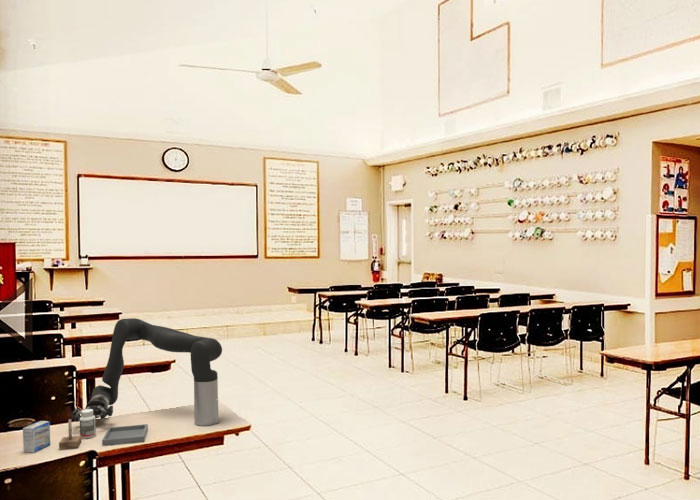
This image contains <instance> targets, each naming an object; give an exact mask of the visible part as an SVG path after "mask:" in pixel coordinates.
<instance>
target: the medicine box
mask: <svg viewBox="0 0 700 500" xmlns="http://www.w3.org/2000/svg"><path fill="white" fill-rule="evenodd" d="M22 445H23V448H22V449H23V453H30V452H33V454H35V453H37V452H39V451H41V450H43V449H44V448H47V447H49V446H50V445H51V422H50V421H48V420H39V421H36V422H34V423H32V424H30V425H27V426H25V427H23V428H22Z"/></svg>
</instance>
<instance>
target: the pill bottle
mask: <svg viewBox="0 0 700 500" xmlns="http://www.w3.org/2000/svg"><path fill="white" fill-rule="evenodd" d="M81 415H82V417H81V418H80V420H79V436H81V440H82V439H83V440H84V439H91V438H94V437H95V436H96V435H97V434H96V433H97V431H96V428H97V427H96V425H97V424H96V418H95V416H94V415H93V409H86V410H83V411H81V414H80V416H81Z"/></svg>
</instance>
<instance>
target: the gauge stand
mask: <svg viewBox="0 0 700 500" xmlns="http://www.w3.org/2000/svg"><path fill="white" fill-rule="evenodd" d="M72 420H73V419H72V418H69V419H68V422H67V423H68V424H67V425H68V426H67V427H68V436H63V437H62V438H61V439H60V441H58V451H62V450H63V451H64V450H75V449H78V448H79V447H80V445H81V444H82V438H81V436H80V435H73V432H72V431H73V429H72V428H73V426H72V424H73V423H72Z"/></svg>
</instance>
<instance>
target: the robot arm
mask: <svg viewBox="0 0 700 500" xmlns="http://www.w3.org/2000/svg"><path fill="white" fill-rule="evenodd" d="M111 339H112V340H111V344H110V350H109V355H108V359H107V363H106V366H105V368H104V373H103V375H102V378H101V380H102V382H103V383H105V385H108V386H105V385H97V386H95V387H94V388H93V390H92V392H91V399H90V400H89V401H88V403H87V404H86V405H85V408H83V409H81V410H80V408H75V409H74V410H73V411H72V412H71V419H72V420H74V421H75V422H76V423H79V422H80V418H81V417H82V415H81V411H83V410H86V409H93V415H94V416H95V419H99V418H100V420H101V421H102V420H104V419H105V418H107V416H108V417H112V416H113V413H114V405H115V403H116V402H117V400H118V398H119V384H120V379H121V376H122V374H123V371H124V367H125V362H124V361H125V360H124V356H123V348H124V346H125V343H126V342H127V341H132V340H141V341H146V342H149V343H151V344H152V346H154V347H155V348H157V349H159V350H162V351H165V352H171V353H189V354H190V367H191V373H192V376H193V403H194V404H193V405H194V406H193V408H194V415H193V416H194V418H193V419H194V424H195V426H196V425H197V426H201V427H202V426H203V427H204V426H212V425H214V424H219V391H218V390H219V389H218V388H219V386H218V383H219V381H218V372H217V370H214V369H212V368H211V362H213V361H216V360H217V359H219V358H220V356H221V355H222V353H223V347H222V344H221V343H220V342H219V340H217V339H215V338H212V337H205V336H198V335H193V334H191V333H187V332H184V331H180V330H178V329H174V328H169V327H166V326H161V325H155V324H151V323H148V322H147V321H144V320H142V319H139V318H136V317H133V318H121V319H119V320H118V321H116V323H115V325H114V328H113V332H112V338H111Z"/></svg>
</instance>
